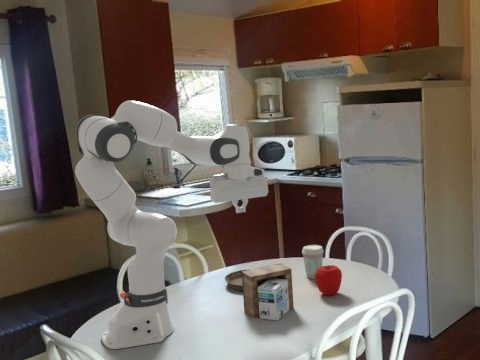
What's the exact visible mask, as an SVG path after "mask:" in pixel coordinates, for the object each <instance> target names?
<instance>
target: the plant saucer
mask: <svg viewBox="0 0 480 360" xmlns="http://www.w3.org/2000/svg"><path fill="white" fill-rule="evenodd" d="M250 269H251V268H250ZM250 269H249V268H248V269H242V270H241V269H240V270H236V271H233V272H230V273H228V274H227V275H226V276H224V280H225V283H227V285H229V287H231V288H233V289H235V290H237V291H242V292H243V285H242V271H246V270H250Z"/></svg>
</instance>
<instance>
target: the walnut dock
mask: <svg viewBox="0 0 480 360" xmlns="http://www.w3.org/2000/svg"><path fill="white" fill-rule="evenodd" d="M245 270H246V271H242V285H243V291H242V297H243V299H242V300H243V306H244V307H243V309H244V312H245V313H246V314H248V315H249V316H250V317H252V318H253V319H255V318H258V317H259V318H260V314H259V299H258V287H259V286H260V285H262V284H263V283H264V282H265V281H267V280H268V279H269V278H276V279H287V280H288V297H289V310H293V309H294V307H295V306H294V293H293V292H294V291H293V290H294V289H293V288H294V287H293V275H292V268H291V267H289V266H287V265H285V264H283V263H274V264H271V265H266V266H261V267H260V266H259V267H256V268H250V270H247V269H245Z"/></svg>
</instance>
